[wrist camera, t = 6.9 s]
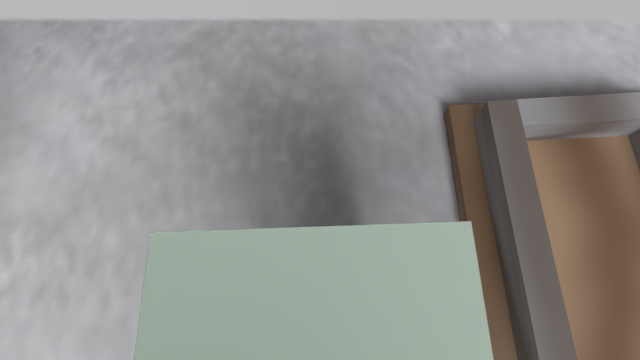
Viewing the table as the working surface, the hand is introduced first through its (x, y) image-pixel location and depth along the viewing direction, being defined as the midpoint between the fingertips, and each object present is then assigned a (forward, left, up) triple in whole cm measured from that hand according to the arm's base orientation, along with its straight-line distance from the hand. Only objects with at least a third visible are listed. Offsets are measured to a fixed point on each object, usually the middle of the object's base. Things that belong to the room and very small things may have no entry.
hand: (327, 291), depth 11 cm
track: (+13, +1, -8) cm, 15 cm away
